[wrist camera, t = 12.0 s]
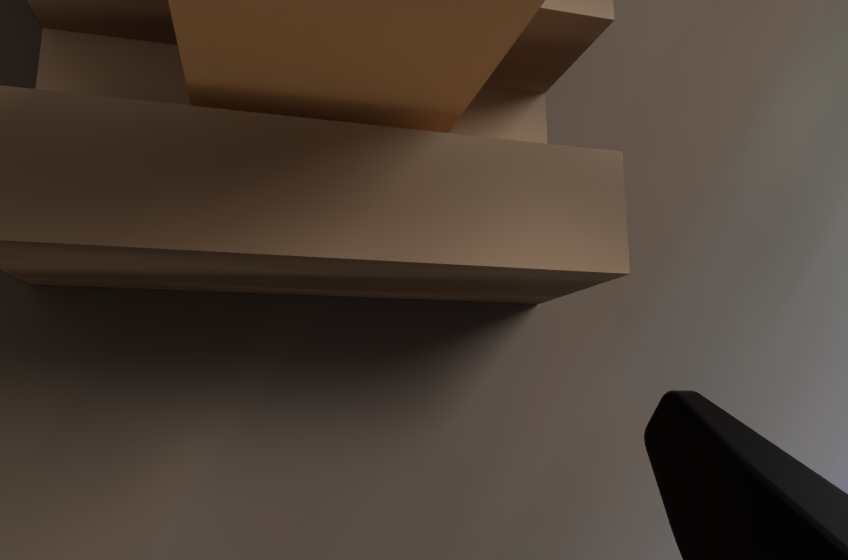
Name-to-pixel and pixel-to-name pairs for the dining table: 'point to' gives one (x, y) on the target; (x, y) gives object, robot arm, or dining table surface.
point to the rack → (297, 178)
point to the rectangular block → (346, 56)
